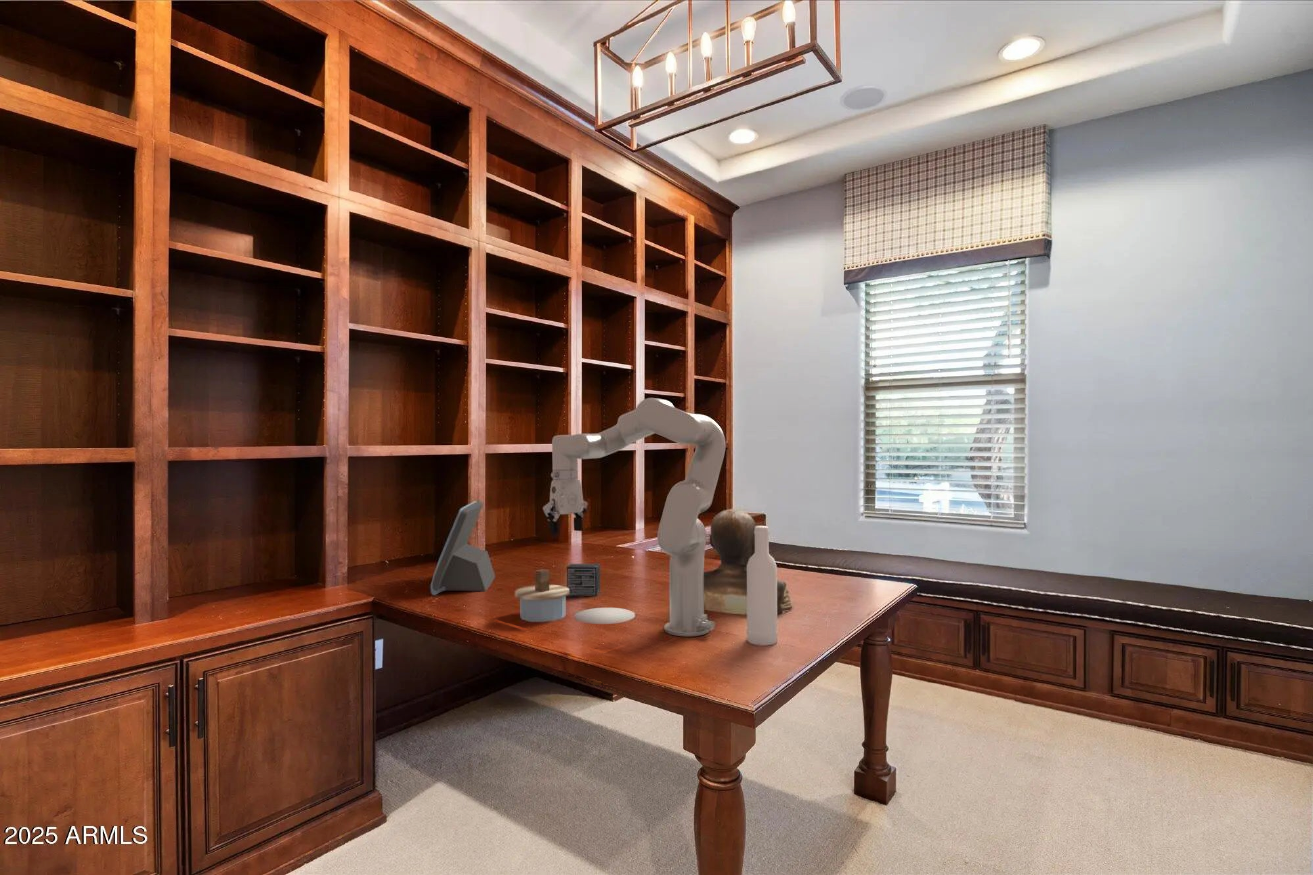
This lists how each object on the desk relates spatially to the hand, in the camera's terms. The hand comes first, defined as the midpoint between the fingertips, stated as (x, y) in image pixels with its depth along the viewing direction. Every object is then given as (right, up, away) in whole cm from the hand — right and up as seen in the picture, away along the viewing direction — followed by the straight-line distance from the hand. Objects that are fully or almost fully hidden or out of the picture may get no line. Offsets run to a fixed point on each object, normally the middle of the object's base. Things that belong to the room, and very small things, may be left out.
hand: (566, 532), depth 194 cm
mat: (+12, -25, -2) cm, 28 cm away
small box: (+2, -26, +25) cm, 36 cm away
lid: (-7, -18, -2) cm, 19 cm away
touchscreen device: (-44, -26, +44) cm, 67 cm away
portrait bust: (+53, -25, +12) cm, 60 cm away
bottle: (+55, -25, -26) cm, 65 cm away
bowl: (-7, -25, -2) cm, 26 cm away
